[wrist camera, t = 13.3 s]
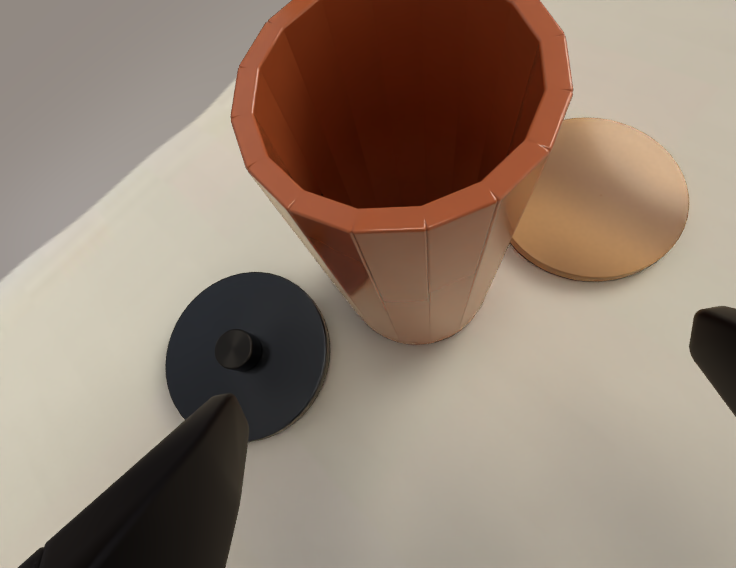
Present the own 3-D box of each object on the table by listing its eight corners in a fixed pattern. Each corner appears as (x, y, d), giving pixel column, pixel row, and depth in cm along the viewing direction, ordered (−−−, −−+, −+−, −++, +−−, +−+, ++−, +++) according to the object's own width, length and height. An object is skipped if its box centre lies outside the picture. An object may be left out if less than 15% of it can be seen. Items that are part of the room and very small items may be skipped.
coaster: (676, 298, 18) (684, 295, 17) (479, 262, 20) (481, 258, 19) (686, 135, 20) (694, 127, 19) (508, 116, 22) (510, 108, 21)
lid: (302, 464, 18) (288, 469, 16) (149, 415, 20) (122, 416, 18) (349, 293, 20) (341, 282, 18) (207, 262, 22) (187, 250, 20)
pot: (511, 312, 19) (647, 140, 7) (377, 366, 19) (283, 289, 7) (451, 195, 21) (475, -88, 9) (331, 245, 21) (201, 30, 9)
